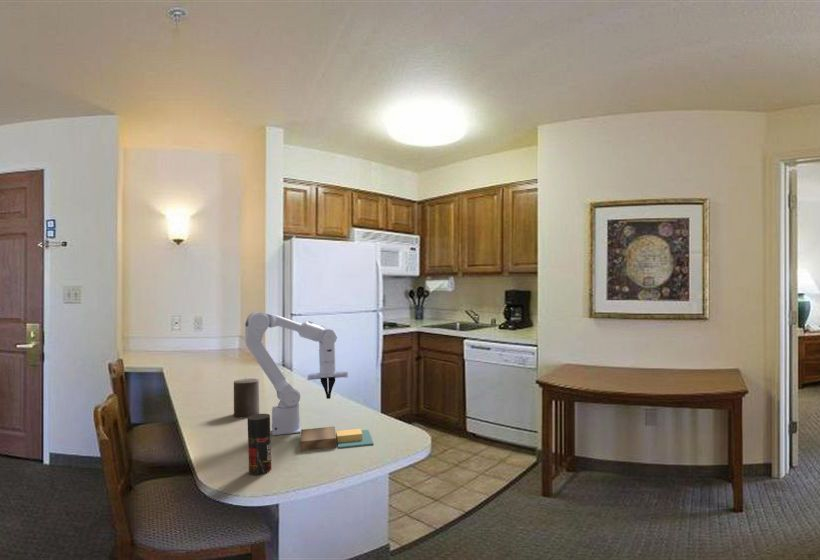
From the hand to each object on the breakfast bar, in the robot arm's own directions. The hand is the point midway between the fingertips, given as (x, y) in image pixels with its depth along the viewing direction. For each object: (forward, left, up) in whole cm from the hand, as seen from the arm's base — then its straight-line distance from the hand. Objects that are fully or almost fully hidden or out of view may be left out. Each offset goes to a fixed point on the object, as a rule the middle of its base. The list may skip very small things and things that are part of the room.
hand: (328, 398), depth 168 cm
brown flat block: (-4, -20, -9) cm, 22 cm away
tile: (+6, -20, -9) cm, 23 cm away
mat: (+8, -20, -9) cm, 23 cm away
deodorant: (-20, -38, -10) cm, 44 cm away
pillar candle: (-32, +23, -10) cm, 41 cm away
